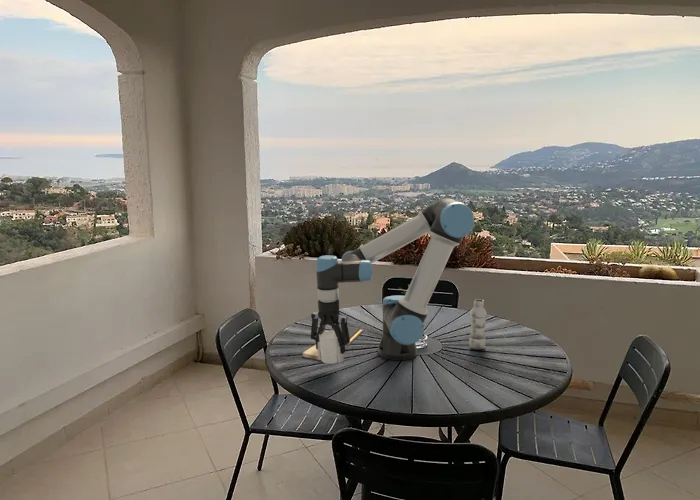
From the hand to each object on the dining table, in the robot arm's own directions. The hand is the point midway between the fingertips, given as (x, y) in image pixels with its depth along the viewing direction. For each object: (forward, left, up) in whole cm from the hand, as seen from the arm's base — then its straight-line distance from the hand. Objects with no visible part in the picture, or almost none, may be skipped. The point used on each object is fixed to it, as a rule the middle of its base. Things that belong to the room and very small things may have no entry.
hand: (330, 359), depth 194 cm
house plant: (-6, -67, -5) cm, 67 cm away
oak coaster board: (+10, -13, -4) cm, 17 cm away
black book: (+13, -34, -5) cm, 37 cm away
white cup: (0, 0, 0) cm, 0 cm away
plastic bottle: (-43, -44, -5) cm, 61 cm away
